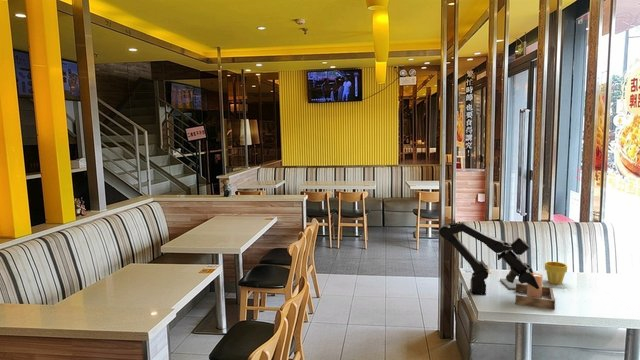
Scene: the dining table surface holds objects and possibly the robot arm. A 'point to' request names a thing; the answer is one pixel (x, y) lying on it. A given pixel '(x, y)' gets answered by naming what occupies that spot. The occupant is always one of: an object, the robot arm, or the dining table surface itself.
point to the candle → (532, 290)
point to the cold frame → (535, 301)
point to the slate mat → (510, 284)
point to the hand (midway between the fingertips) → (537, 286)
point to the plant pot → (555, 271)
